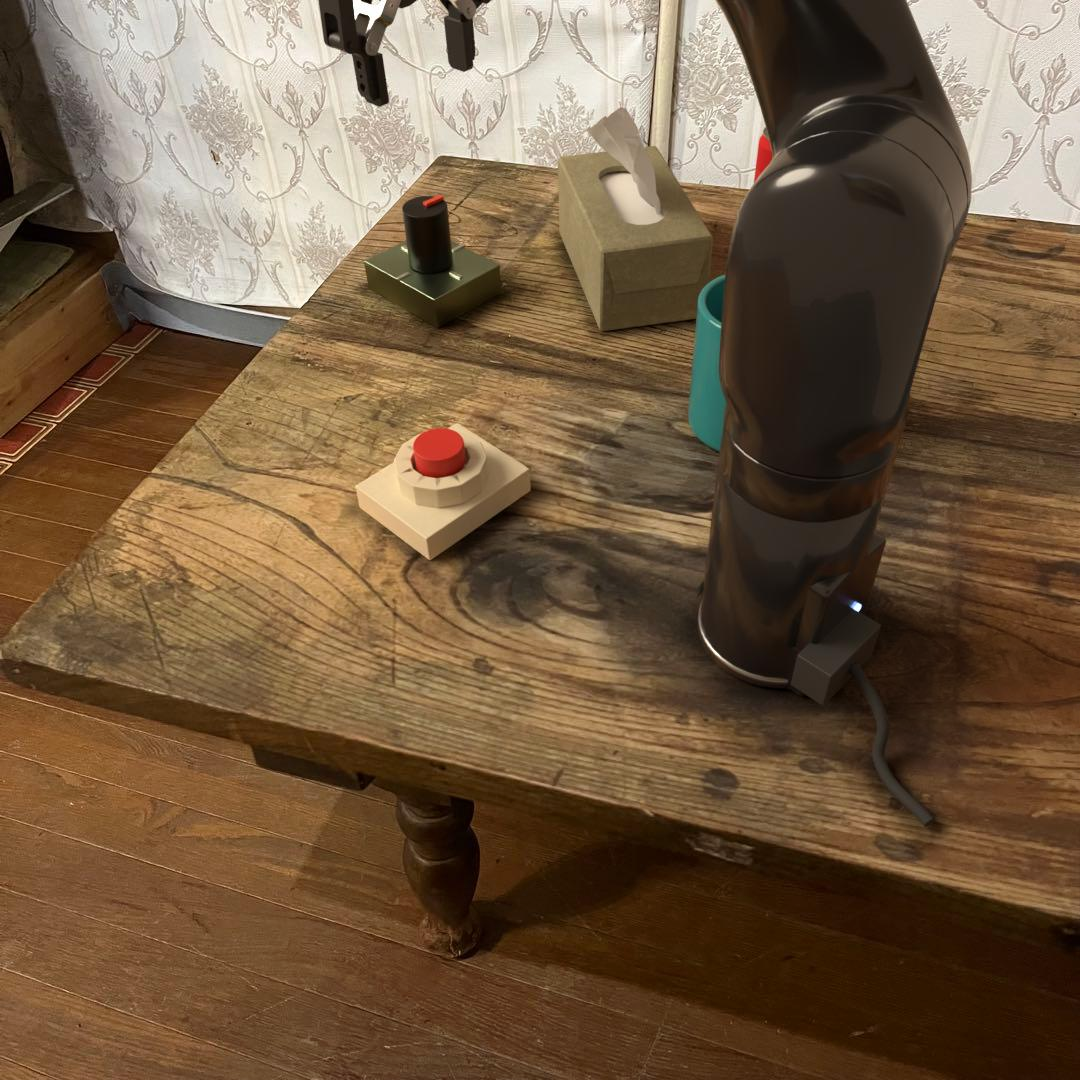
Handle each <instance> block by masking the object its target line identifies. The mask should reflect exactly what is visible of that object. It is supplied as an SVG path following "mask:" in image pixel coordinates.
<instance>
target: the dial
mask: <svg viewBox="0 0 1080 1080" xmlns="http://www.w3.org/2000/svg"><path fill="white" fill-rule="evenodd" d="M401 209H402V210H401V211H402V216H403V218H402V219H403V226H404V227H403V228H404V235H405V240H406V242H407V249H408V256H409V264H410V266H411V268H412V269H414V270H416V271H418V272H422V273H435V272H440V271H443V270H445V269H447V268H448V267H449V266H450V265H451V264H452V262H453V257H452V247H451V241H452V238H451V227H450V220H449V208H448V203H447V202H446V200H445V197H444V196H443V195H442V194H439V195H436V196H434V195H433V196H432V195H422V196H416V197H413V198H410V199H409V200H407V201H405V202H404V203H403V205H402V207H401Z"/></svg>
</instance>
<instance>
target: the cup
mask: <svg viewBox="0 0 1080 1080" xmlns="http://www.w3.org/2000/svg"><path fill="white" fill-rule="evenodd" d="M724 285H725V274H722V275H720V276H718V277H716V278H714V279H713V280H711V281H709V283H708V284H707V285H706V286H705V287H704V288H703V289H702V291H701V292H700V294H699V297H698V305H697V316H696V319H695V331H694V339H693V352H692V361H691V374H690V383H689V394H688V395H689V396H688V404H687V405H688V406H687V408H688V409H687V420H688V424H689V427H690V430H691V431H692V432H693V433H692V434H694V435H695V437H696V438H697V439H698V440H699V441H700V442H701V443H703V444H704V445H706V446H707V447H709V448H710V449H712V450H714V451H717V452H718V453H720V445H721V436H722V428H723V420H724V411H725V402H726V399H725V397H724V394H723V391H722V388H721V384H720V380H719V352H720V338H721V323H722V310H723V297H724Z"/></svg>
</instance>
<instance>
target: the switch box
mask: <svg viewBox="0 0 1080 1080" xmlns="http://www.w3.org/2000/svg"><path fill="white" fill-rule="evenodd" d="M447 429H451V430H454V431H456V432H457V433H459V434H460V435H461V436H462V438H463V440H464V448H465V457H466V462H465V465H464V467H463V469H462V470H461V471H460V472H458V473H457V474H455V475H453V476H448V477H443V478H432V477H426V476H424V475H423V474H421V473H420V472H419V471H418V469H417V467H416V463H415V456H414V450H413V444H414V441H415V439H416V438H417V437H418V436H419V435H420V434H422V433H423V432H421V433H419V434H417V435H415V436H414V437H411V438H410V439H409V440H407V441H405V442H404V443H402V445H401V446H400V448H399V450H398V452H397V454H396V455H395V457H394V459H393V462H391V463H390V464H388V465H386V466H385V467H382V469H380V470H379V471H377V472H375V473H374V474H372V475H371V476H368V477H367V478H366V479H364V480H363V481H361V482H359V483H357V484H356V485H355V486H354V488H355V493H356V496H357V502H358V506H359V508H360V509H361V510H362V511H363V512H364V513H366V514H367V515H368V516H370V517H372V518H373V519H374V520H375V521H377V522H378V523H379V524H381V525H382V526H383V527H385V528H386V529H387V530H388V531H390V532H391V533H392V534H394V535H395V536H397V537H398V538H399V539H400V540H401V541H403V542H405V543H406V544H407V545H408V546H409V547H411V548H412V549H414V550H415V551H417V552H418V553H419V554H420V555H422V556H423V557H425V558H426V559H427V560H429V561H432V560H433V559H434V558H436V557H437V556H439V555H441V554H442V553H443V552H444V551H446V550H448V549H449V548H450V547H452V546H453V545H455V544H456V543H457V542H459V541H460V540H462V539H463V538H465V537H466V536H468V535H469V534H470V533H472V532H474V531H475V530H476V529H478V528H479V527H481V526H482V525H484V524H486V522H488V521H489V520H490V519H492V518H494V517H495V516H496V515H498V514H500V513H501V512H502V511H504V510H505V509H506V508H507V507H509V506H511V505H512V504H514V503H515V502H516V501H517V500H519V499H521V498H522V497H523V496H525V495H526V494H528V493H529V492H531V490H532V489H531V471H530V468H529V467H527V466H526V465H524V464H523V463H521V462H520V461H519V460H517V459H515V458H514V457H512V456H510V455H508V453H506V452H504V451H503V450H501V449H499V448H497V447H496V446H494V445H493V444H491V443H490V442H488V441H486V440H485V439H484V438H483V437H480V436H479V435H477V434H476V433H474V432H473V431H471V430H470V429H468V428H466V427H465V426H464V425H462V424H460V423H459V422H456V423H454V424H453V425H451V426H450V427H448V428H447Z"/></svg>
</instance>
